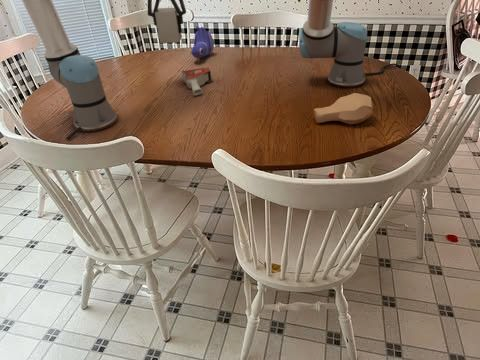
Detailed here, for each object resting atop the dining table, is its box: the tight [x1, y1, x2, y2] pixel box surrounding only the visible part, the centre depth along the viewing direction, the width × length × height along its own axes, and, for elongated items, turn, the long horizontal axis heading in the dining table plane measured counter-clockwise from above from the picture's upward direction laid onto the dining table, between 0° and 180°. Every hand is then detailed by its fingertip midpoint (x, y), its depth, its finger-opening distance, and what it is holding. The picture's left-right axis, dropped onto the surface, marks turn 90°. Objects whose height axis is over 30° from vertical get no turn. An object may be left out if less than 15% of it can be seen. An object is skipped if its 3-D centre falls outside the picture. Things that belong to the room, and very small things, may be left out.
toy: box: [190, 26, 215, 63], centre depth 186 cm, size 10×17×25 cm
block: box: [155, 7, 183, 44], centre depth 149 cm, size 8×9×12 cm
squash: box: [313, 92, 374, 125], centre depth 122 cm, size 11×20×9 cm, turn 92°
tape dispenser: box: [180, 66, 212, 96], centre depth 156 cm, size 18×5×20 cm
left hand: (170, 32), depth 151 cm, fingers closed on block, 8 cm apart
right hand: (313, 0), depth 164 cm, fingers open, 13 cm apart
